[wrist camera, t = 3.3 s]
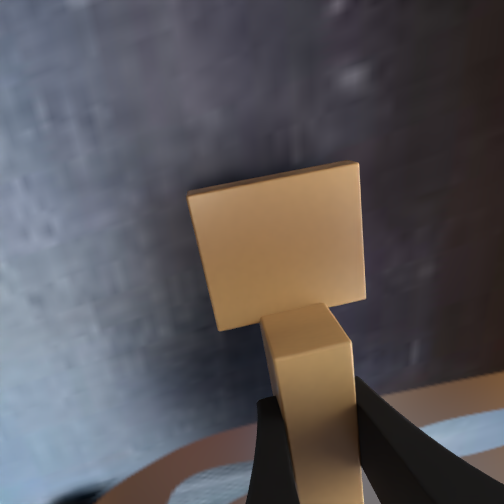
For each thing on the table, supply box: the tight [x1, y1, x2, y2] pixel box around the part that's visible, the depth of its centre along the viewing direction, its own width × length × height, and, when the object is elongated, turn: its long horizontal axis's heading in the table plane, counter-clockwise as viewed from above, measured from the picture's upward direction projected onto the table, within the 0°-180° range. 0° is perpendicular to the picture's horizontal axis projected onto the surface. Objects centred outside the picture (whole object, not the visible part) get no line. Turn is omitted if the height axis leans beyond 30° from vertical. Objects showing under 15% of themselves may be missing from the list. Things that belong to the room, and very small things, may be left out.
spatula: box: [186, 160, 366, 504], centre depth 11 cm, size 13×5×3 cm, turn 10°
